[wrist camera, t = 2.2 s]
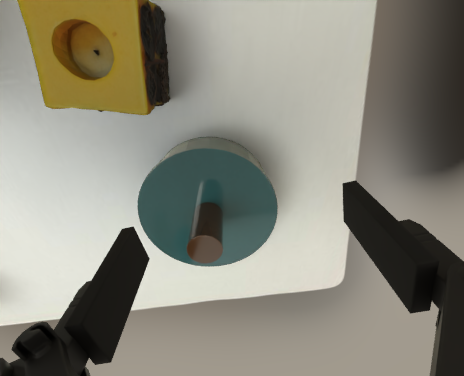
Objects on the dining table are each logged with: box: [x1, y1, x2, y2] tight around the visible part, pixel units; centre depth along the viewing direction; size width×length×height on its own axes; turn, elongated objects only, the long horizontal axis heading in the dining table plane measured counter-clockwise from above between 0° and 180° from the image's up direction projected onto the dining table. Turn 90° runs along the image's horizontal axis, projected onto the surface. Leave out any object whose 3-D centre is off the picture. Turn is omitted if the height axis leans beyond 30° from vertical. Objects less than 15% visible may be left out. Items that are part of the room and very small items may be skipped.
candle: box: [17, 0, 170, 115], centre depth 27 cm, size 10×10×10 cm
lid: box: [138, 147, 277, 266], centre depth 32 cm, size 19×19×8 cm
